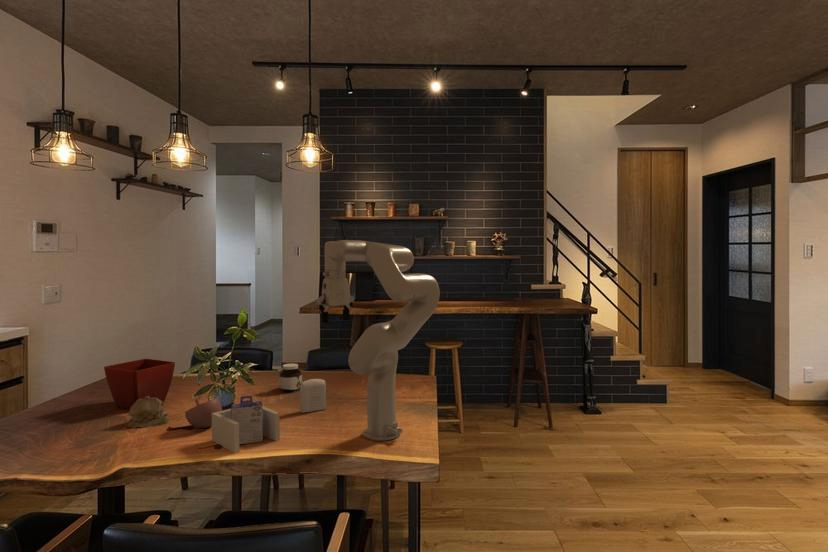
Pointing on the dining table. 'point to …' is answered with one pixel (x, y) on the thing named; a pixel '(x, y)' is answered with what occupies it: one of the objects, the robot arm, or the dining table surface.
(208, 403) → the mortar and pestle
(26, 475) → the dining table surface
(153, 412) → the ceramic model
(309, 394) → the photo printer
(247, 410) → the ink cartridge box
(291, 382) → the spread jar
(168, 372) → the plant pot
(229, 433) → the cubby
